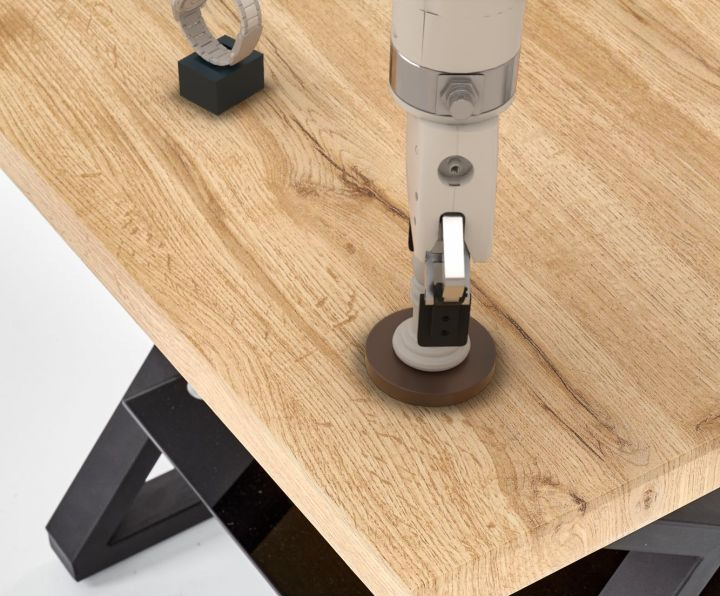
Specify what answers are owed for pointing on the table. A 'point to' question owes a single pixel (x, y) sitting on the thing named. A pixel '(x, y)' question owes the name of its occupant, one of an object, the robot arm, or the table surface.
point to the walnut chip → (428, 384)
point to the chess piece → (407, 330)
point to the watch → (219, 57)
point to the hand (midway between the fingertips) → (436, 295)
